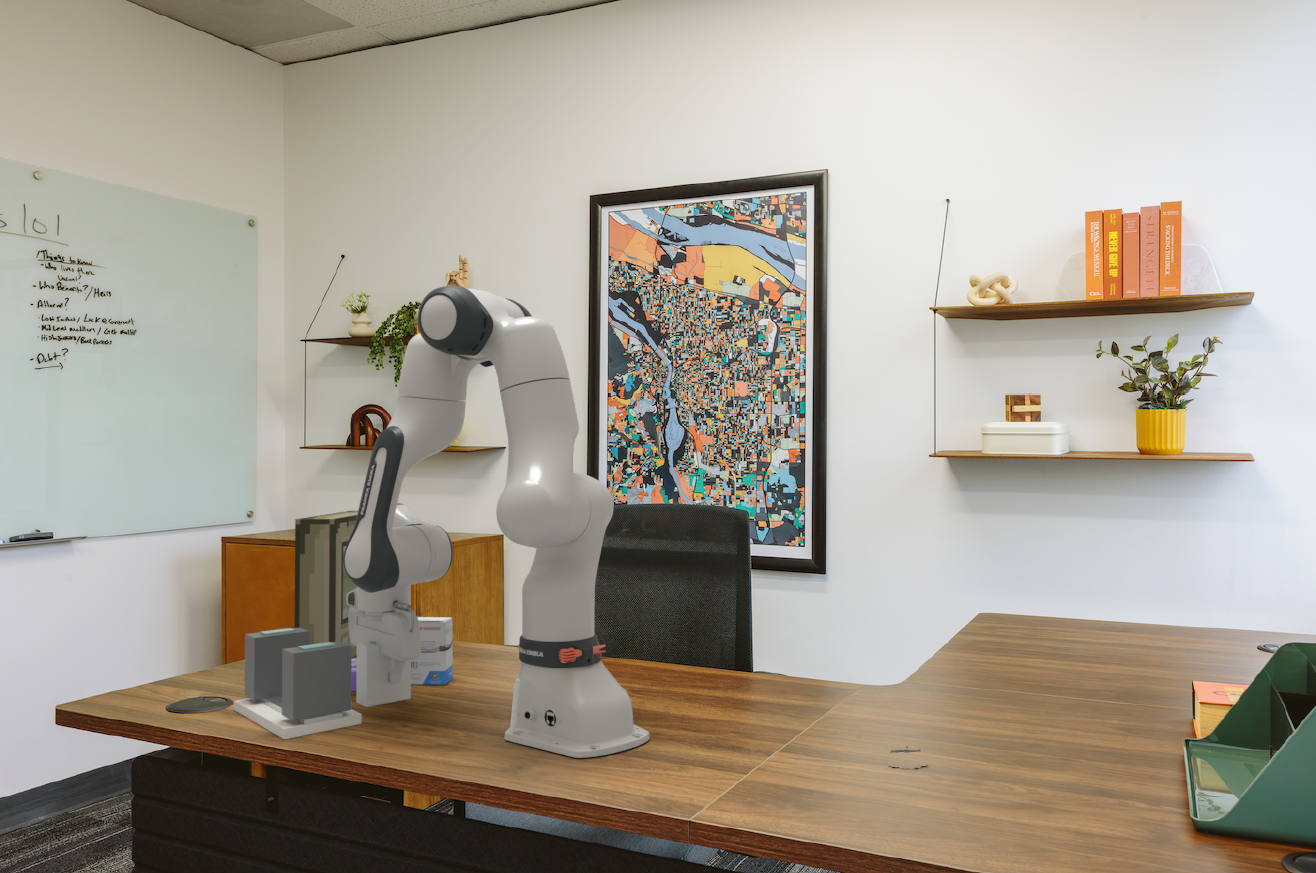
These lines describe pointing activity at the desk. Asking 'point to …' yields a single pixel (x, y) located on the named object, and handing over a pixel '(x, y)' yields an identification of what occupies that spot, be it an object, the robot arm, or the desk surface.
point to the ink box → (434, 652)
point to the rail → (277, 705)
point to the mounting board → (287, 727)
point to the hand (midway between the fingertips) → (383, 679)
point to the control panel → (323, 577)
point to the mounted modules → (298, 672)
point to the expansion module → (378, 677)
